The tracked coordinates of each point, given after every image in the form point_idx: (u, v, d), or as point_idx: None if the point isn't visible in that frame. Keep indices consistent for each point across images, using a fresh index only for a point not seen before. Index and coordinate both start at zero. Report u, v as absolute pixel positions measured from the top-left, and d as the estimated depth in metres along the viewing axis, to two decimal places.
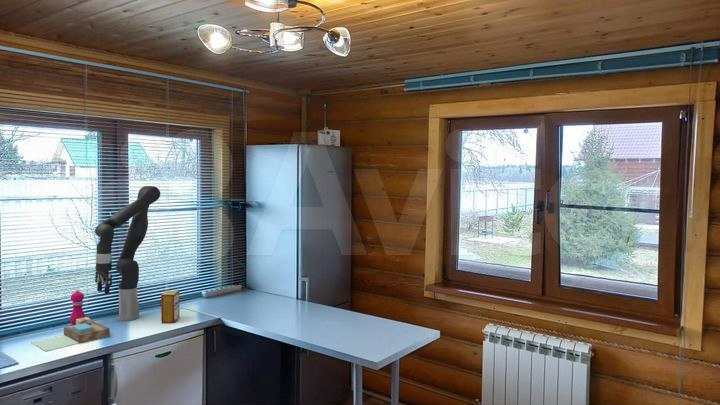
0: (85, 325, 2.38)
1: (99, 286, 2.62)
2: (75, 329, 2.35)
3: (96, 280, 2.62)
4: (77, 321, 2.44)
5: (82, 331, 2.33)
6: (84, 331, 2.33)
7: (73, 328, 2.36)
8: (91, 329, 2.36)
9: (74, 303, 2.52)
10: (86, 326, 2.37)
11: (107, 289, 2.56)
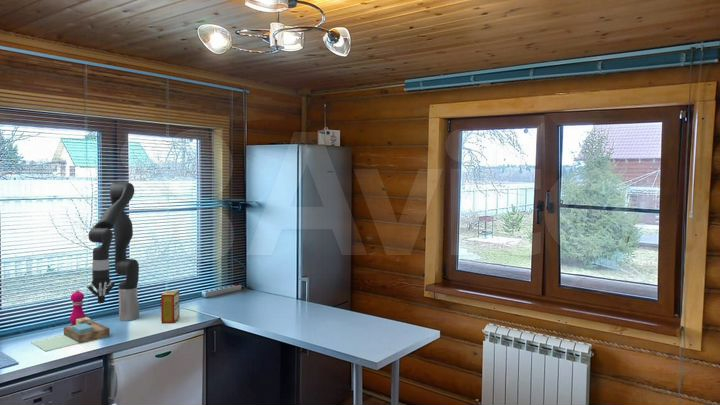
0: (85, 325, 2.38)
1: None
2: (75, 329, 2.35)
3: (96, 292, 2.40)
4: (77, 321, 2.44)
5: (82, 331, 2.33)
6: (84, 331, 2.33)
7: (73, 328, 2.36)
8: (91, 329, 2.36)
9: (74, 303, 2.52)
10: (86, 326, 2.37)
11: None
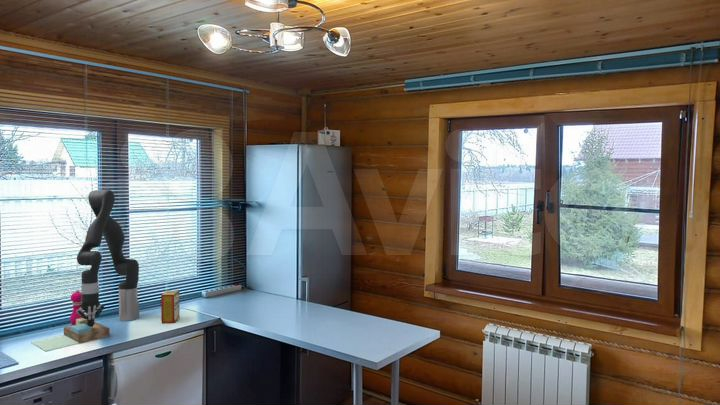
0: (84, 325, 2.38)
1: None
2: (73, 329, 2.34)
3: (85, 316, 2.37)
4: (77, 321, 2.44)
5: (81, 331, 2.32)
6: (82, 331, 2.33)
7: (71, 328, 2.36)
8: (90, 329, 2.35)
9: (74, 303, 2.52)
10: (84, 326, 2.36)
11: None
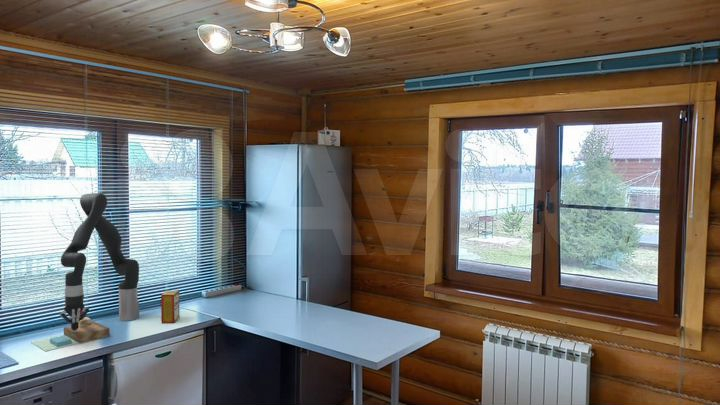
0: None
1: None
2: None
3: (69, 319, 2.31)
4: None
5: (68, 342, 2.28)
6: (67, 342, 2.28)
7: None
8: (59, 344, 2.25)
9: None
10: None
11: None
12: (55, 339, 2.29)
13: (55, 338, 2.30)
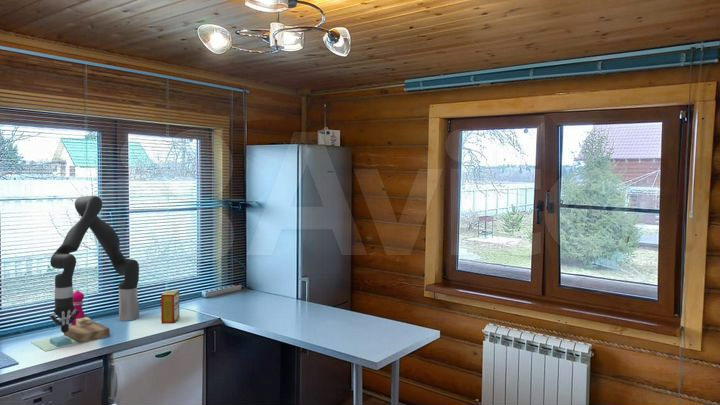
0: None
1: None
2: None
3: None
4: (77, 321, 2.44)
5: (68, 342, 2.28)
6: (67, 342, 2.28)
7: None
8: (59, 344, 2.25)
9: (74, 303, 2.52)
10: None
11: None
12: (55, 339, 2.29)
13: (55, 338, 2.30)
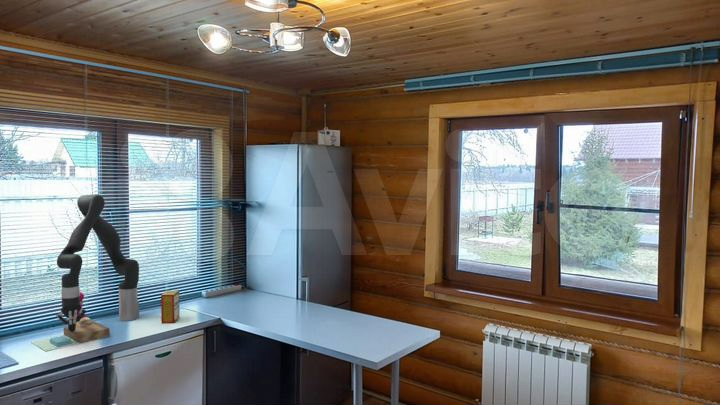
0: None
1: None
2: None
3: (66, 321, 2.31)
4: None
5: (68, 342, 2.28)
6: (67, 342, 2.28)
7: None
8: (59, 344, 2.25)
9: None
10: None
11: None
12: (55, 339, 2.29)
13: (55, 338, 2.30)
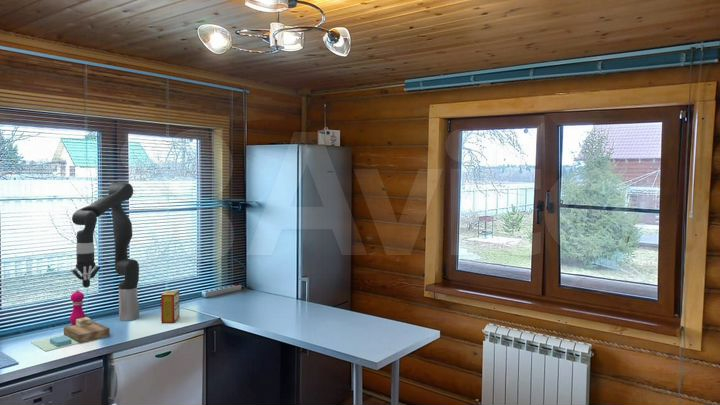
0: None
1: None
2: None
3: None
4: (77, 321, 2.44)
5: (68, 342, 2.28)
6: (67, 342, 2.28)
7: None
8: (59, 344, 2.25)
9: (74, 303, 2.52)
10: None
11: None
12: (55, 339, 2.29)
13: (55, 338, 2.30)
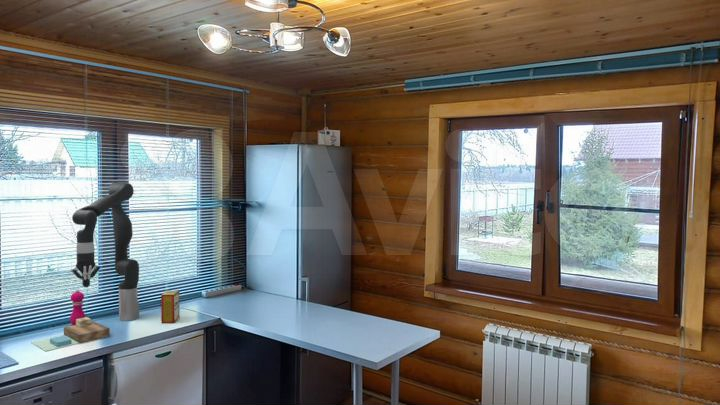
0: None
1: None
2: None
3: (81, 276, 2.34)
4: (77, 321, 2.44)
5: (68, 342, 2.28)
6: (67, 342, 2.28)
7: None
8: (59, 344, 2.25)
9: (74, 303, 2.52)
10: None
11: None
12: (55, 339, 2.29)
13: (55, 338, 2.30)
